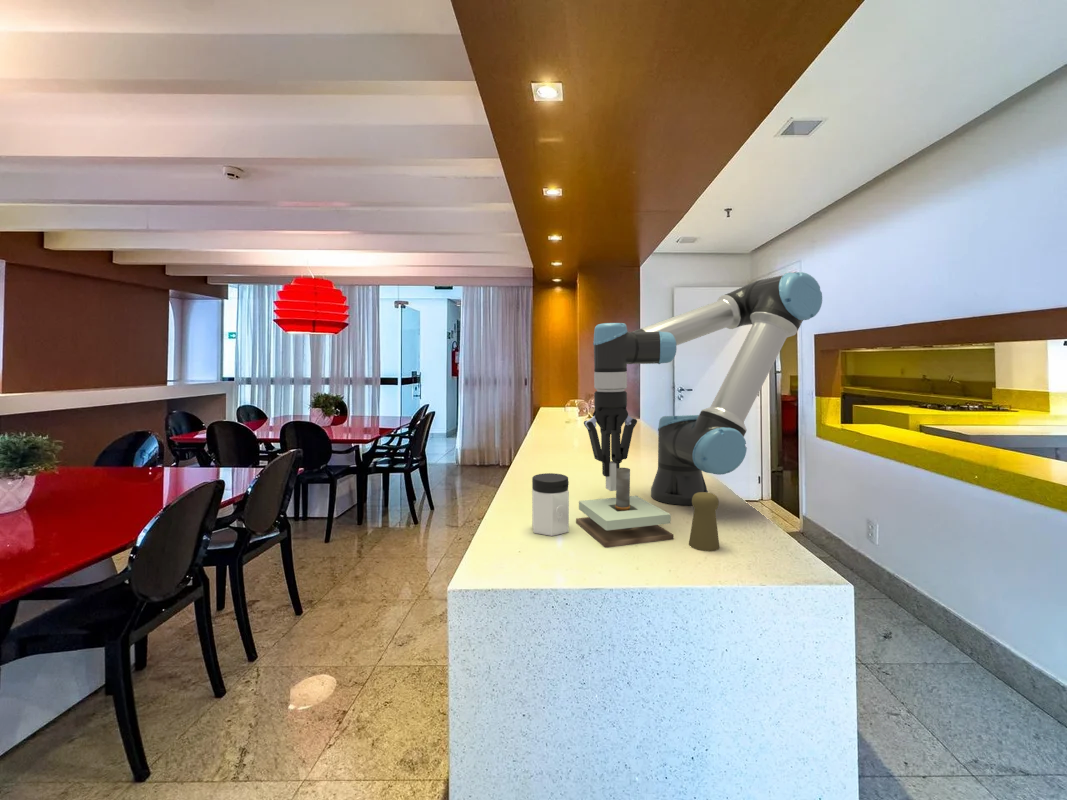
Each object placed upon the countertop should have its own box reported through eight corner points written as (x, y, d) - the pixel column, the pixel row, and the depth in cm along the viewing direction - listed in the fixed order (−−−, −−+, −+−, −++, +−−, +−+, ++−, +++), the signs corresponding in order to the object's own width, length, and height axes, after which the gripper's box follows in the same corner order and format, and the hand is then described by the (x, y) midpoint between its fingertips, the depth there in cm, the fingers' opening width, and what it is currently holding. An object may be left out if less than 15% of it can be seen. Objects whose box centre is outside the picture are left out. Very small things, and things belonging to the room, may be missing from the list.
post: (636, 516, 121) (637, 459, 120) (673, 539, 105) (674, 474, 104) (575, 522, 116) (576, 464, 115) (605, 547, 101) (605, 480, 100)
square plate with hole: (636, 503, 120) (636, 495, 120) (670, 523, 106) (670, 514, 105) (578, 509, 116) (578, 500, 115) (606, 530, 101) (606, 520, 101)
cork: (682, 542, 103) (683, 491, 103) (704, 538, 106) (706, 488, 105) (702, 553, 98) (704, 498, 97) (726, 548, 100) (727, 495, 99)
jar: (544, 538, 106) (544, 483, 105) (523, 528, 113) (523, 476, 112) (577, 530, 111) (577, 478, 110) (555, 520, 117) (555, 471, 116)
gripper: (628, 388, 120) (628, 483, 122) (578, 390, 117) (579, 488, 119) (643, 390, 113) (643, 490, 115) (591, 392, 109) (592, 496, 112)
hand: (611, 489), depth 117 cm, fingers closed
